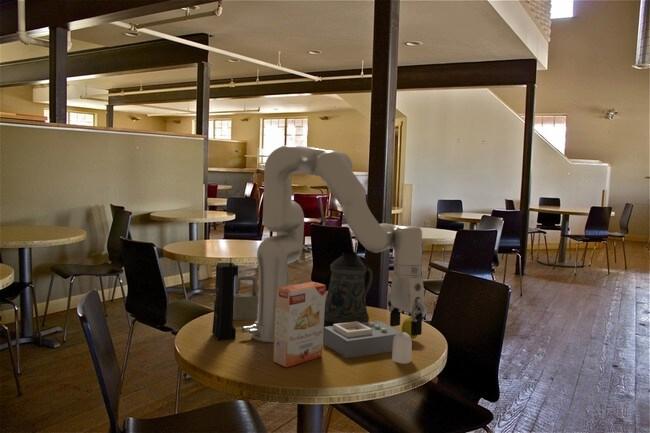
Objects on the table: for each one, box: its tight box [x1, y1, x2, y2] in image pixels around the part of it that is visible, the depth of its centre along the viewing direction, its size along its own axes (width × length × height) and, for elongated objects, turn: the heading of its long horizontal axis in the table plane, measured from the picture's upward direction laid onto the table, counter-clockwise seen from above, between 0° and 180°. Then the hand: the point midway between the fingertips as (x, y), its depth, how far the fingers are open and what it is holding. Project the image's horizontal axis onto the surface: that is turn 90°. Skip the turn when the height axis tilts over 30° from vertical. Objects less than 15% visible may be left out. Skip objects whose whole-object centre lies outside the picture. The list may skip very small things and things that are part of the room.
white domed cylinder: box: [391, 331, 413, 364], centre depth 149 cm, size 5×5×8 cm
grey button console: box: [323, 320, 402, 359], centre depth 159 cm, size 20×14×6 cm
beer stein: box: [324, 251, 374, 327], centre depth 181 cm, size 16×19×25 cm
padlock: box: [233, 275, 259, 321], centre depth 183 cm, size 4×8×15 cm, turn 110°
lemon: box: [401, 315, 419, 340], centre depth 166 cm, size 6×6×8 cm
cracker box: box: [272, 281, 327, 368], centre depth 145 cm, size 14×6×21 cm, turn 137°
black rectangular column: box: [211, 257, 239, 341], centre depth 162 cm, size 8×6×25 cm
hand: (405, 330), depth 148 cm, fingers open, 9 cm apart
